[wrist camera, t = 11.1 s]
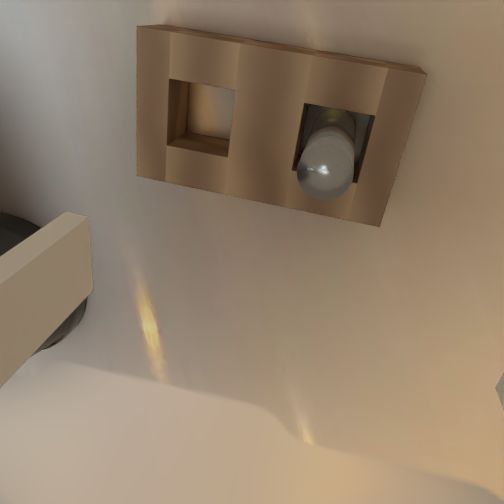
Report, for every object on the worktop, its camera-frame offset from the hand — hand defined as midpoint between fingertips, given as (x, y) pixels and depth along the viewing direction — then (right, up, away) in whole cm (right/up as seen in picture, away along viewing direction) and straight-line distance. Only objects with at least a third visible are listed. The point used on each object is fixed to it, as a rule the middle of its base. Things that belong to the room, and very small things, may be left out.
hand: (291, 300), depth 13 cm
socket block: (0, +11, +19) cm, 22 cm away
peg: (+5, +10, +19) cm, 22 cm away
